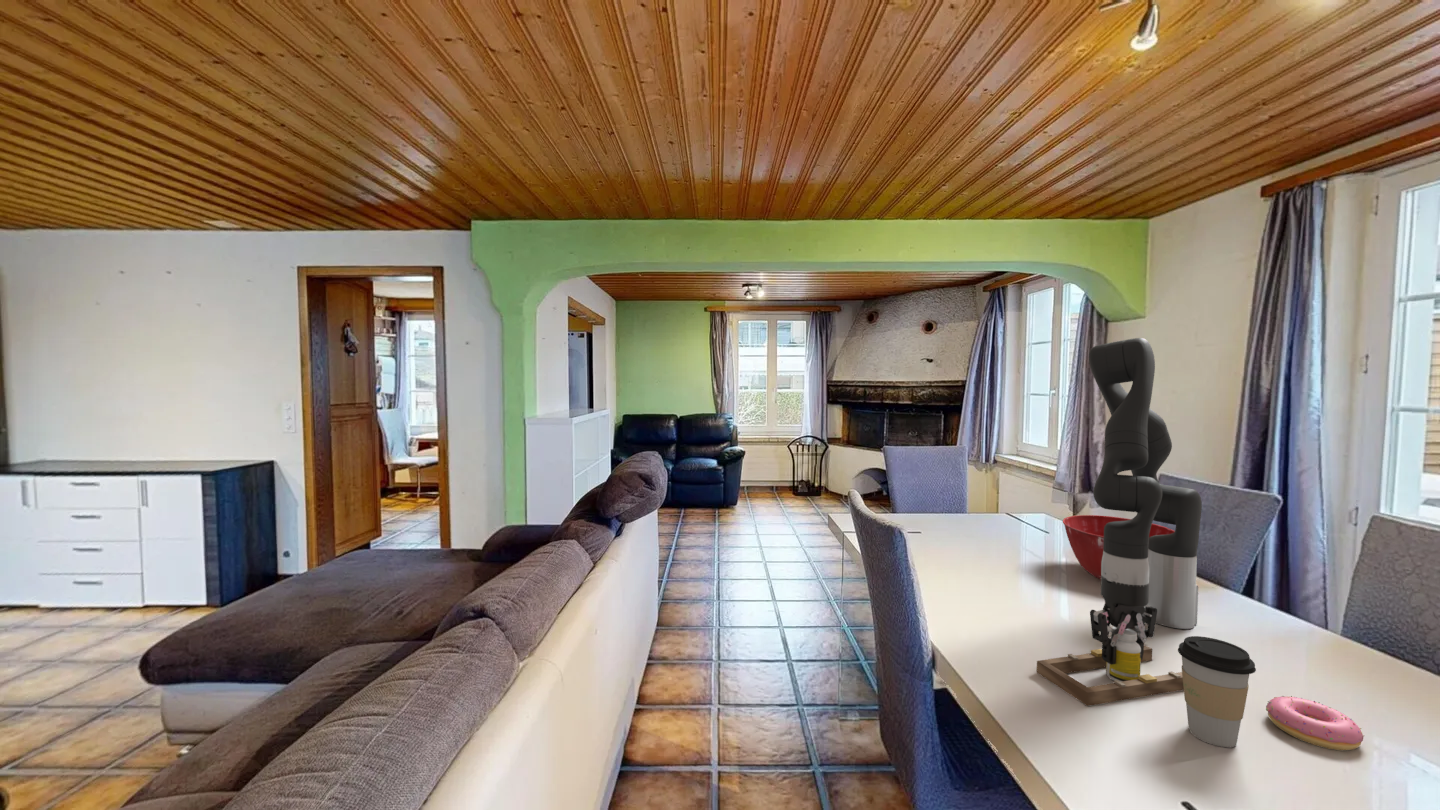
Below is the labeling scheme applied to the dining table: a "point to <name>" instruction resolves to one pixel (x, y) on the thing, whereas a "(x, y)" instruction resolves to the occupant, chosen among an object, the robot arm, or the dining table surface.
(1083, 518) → the mixing bowl
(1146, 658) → the wooden u-shaped frame
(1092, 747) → the dining table surface
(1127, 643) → the supplement bottle
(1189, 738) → the dining table surface
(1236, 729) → the coffee cup
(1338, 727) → the doughnut
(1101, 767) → the dining table surface
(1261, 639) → the dining table surface
